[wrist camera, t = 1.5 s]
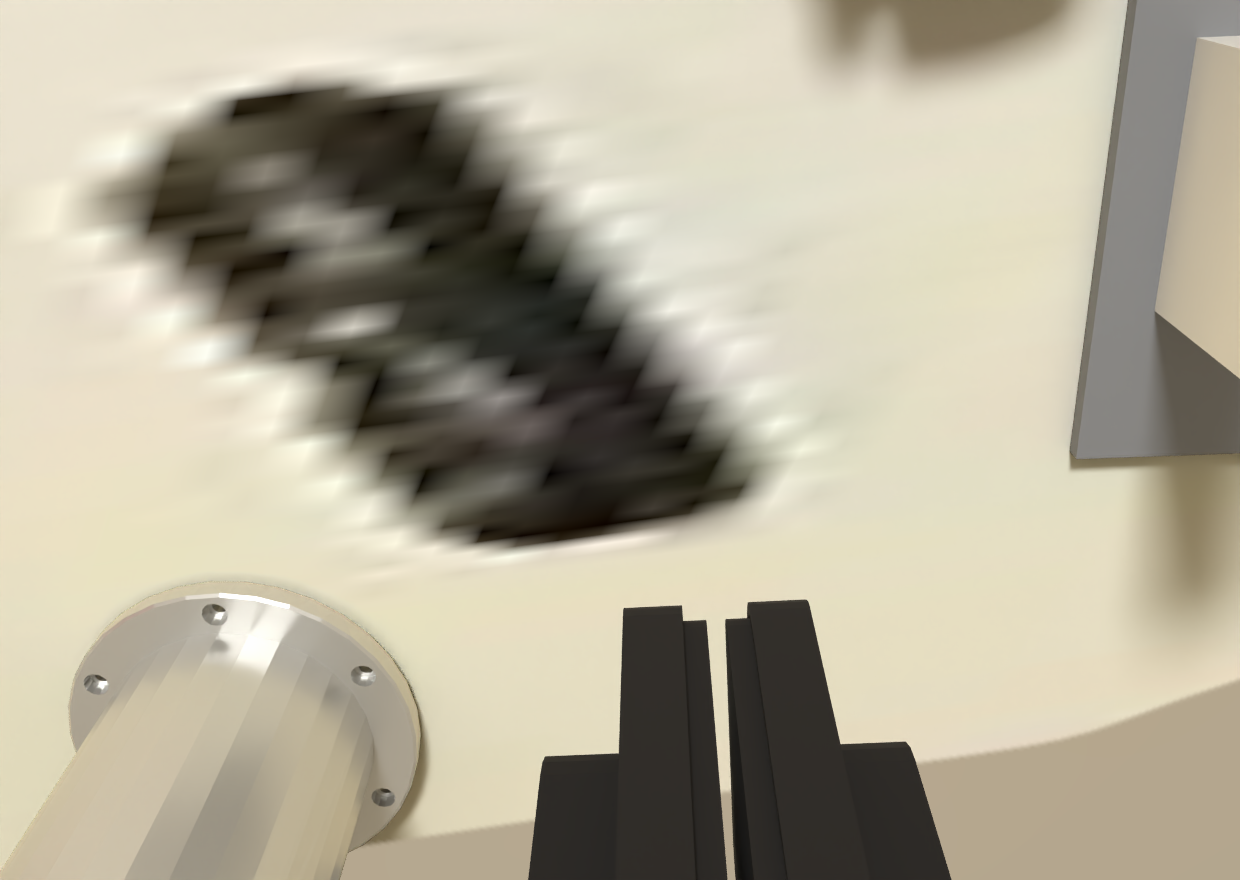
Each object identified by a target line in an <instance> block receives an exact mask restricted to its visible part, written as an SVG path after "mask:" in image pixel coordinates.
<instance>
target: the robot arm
mask: <svg viewBox="0 0 1240 880" xmlns="http://www.w3.org/2000/svg"><path fill="white" fill-rule="evenodd" d="M725 628H726V657H727V685H728V712H729V740H730V768H731V795H732V823H733V847H734V863H735V877H736V880H951V877H950V874H949V870H948V867H947V864H946V860H945V857H944V854H943V850H942V847H941V844H940V840H939V837H938V834H937V831H936V827H935V824H934V821H933V817H932V814H931V811H930V808H929V804H928V801H927V798H926V795H925V791H924V788H923V784H922V781H921V778H920V775H919V771H918V768H917V765H916V761H915V758H914V756H913V753H912V751H911V748H910V746H909V745H908V744H907V743H906V742H886V743H862V744H840V740H839V736H838V731H837V727H836V722H835V718H834V713H833V709H832V704H831V700H830V695H829V691H828V686H827V682H826V677H825V673H824V668H823V664H822V659H821V655H820V651H819V646H818V642H817V637H816V633H815V628H814V624H813V619H812V615H811V610H810V606H809V603H808V601H807V600H787V601H766V602H748V605H747V618H742V619H726V621H725ZM68 709H69V725H70V734H71V738H72V741H73V744H74V748H75V751H76V754H75V756H74V757H73V759H72V761H71V762H70V764H69V765H68V767H67V768H66V770H65V771H64V773H63V775H62V776H61V778H60V779H59V781H58V782H57V784H56V785H55V787H54V789H53V790H52V792H51V793H50V795H49V796H48V798H47V799H46V801H45V803H44V804H43V806H42V807H41V809H40V810H39V812H38V813H37V815H36V817H35V818H34V820H33V821H32V823H31V824H30V826H29V827H28V829H27V831H26V832H25V834H24V835H23V837H22V838H21V840H20V841H19V843H18V845H17V846H16V848H15V849H14V851H13V852H12V854H11V855H10V857H9V859H8V860H7V862H6V863H5V865H4V866H3V868H2V869H1V871H0V880H340V877H341V873H342V870H343V867H344V863H345V860H346V856H347V853H349V852H351V851H353V850H354V849H356V848H358V847H360V846H362V845H364V844H365V843H366V842H368V841H369V840H370V839H371V838H373V837H374V836H375V835H377V834H378V833H379V832H380V831H382V830H383V829H384V828H385V827H386V826H387V824H388V823H389V822H390V821H391V820H392V818H393V817H394V816H395V815H396V814H397V812H398V811H399V810H400V808H401V806H402V804H403V802H404V800H405V798H406V796H407V794H408V792H409V790H410V788H411V786H412V782H413V779H414V775H415V771H416V767H417V763H418V759H419V749H420V738H421V732H420V725H419V718H418V711H417V707H416V704H415V701H414V699H413V696H412V694H411V691H410V688H409V686H408V683H407V681H406V680H405V678H404V677H403V675H402V673H401V672H400V670H399V669H398V667H397V666H396V664H395V663H394V661H393V659H392V658H391V657H390V656H389V654H388V653H387V652H386V651H385V650H384V649H383V648H382V647H381V646H380V645H379V644H378V643H377V642H376V641H375V640H374V639H373V638H372V636H371V635H370V634H368V633H367V632H366V631H364V630H363V629H362V628H360V627H359V626H358V625H356V624H355V623H354V622H352V621H351V620H350V619H348V618H347V617H346V616H344V615H343V614H341V613H339V612H337V611H335V610H333V609H331V608H329V607H328V606H326V605H324V604H322V603H320V602H318V601H316V600H314V599H312V598H309V597H306V596H303V595H300V594H297V593H294V592H291V591H288V590H285V589H282V588H279V587H273V586H267V585H261V584H255V583H250V582H224V581H209V582H203V583H197V584H191V585H185V586H179V587H175V588H172V589H169V590H167V591H164V592H161V593H158V594H156V595H153V596H150V597H147V598H146V599H144V600H142V601H141V602H139V603H137V604H136V605H134V606H132V607H131V608H129V609H127V610H126V611H124V612H122V613H121V614H120V615H119V616H118V617H117V618H116V619H115V620H114V621H113V622H112V623H111V624H110V625H109V626H108V627H107V628H106V629H105V630H104V631H103V632H102V633H101V634H100V636H99V637H98V638H97V640H96V641H95V643H94V644H93V646H92V647H91V648H90V650H89V651H88V652H87V654H86V655H85V656H84V658H83V660H82V662H81V664H80V666H79V668H78V670H77V672H76V674H75V677H74V679H73V684H72V689H71V695H70V700H69V705H68ZM528 880H727V869H726V857H725V844H724V832H723V820H722V808H721V795H720V783H719V770H718V758H717V746H716V733H715V721H714V709H713V697H712V684H711V672H710V660H709V647H708V635H707V623H706V620H699V621H683V615H682V605H681V606H660V607H638V608H624V610H623V635H622V669H621V702H620V736H619V754H595V755H571V756H546V757H545V758H544V760H543V763H542V768H541V774H540V783H539V791H538V800H537V809H536V817H535V826H534V835H533V843H532V852H531V861H530V869H529V878H528Z"/></svg>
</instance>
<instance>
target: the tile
mask: <svg viewBox="0 0 1240 880" xmlns="http://www.w3.org/2000/svg"><path fill="white" fill-rule="evenodd" d="M1155 312H1157V313H1158V314H1159V315H1161V316H1162V317H1163V318H1164V319H1166V320H1167V321H1168V322H1169V323H1171V324H1172V325H1173V326H1174V327H1176V328H1177V329H1178V330H1179V331H1181V332H1182V333H1183V334H1184V335H1186V336H1187V337H1188V338H1189V339H1191V340H1192V341H1193V342H1194V343H1196V344H1197V345H1198V346H1199V347H1201V348H1202V349H1203V350H1204V351H1206V352H1207V353H1208V354H1209V355H1211V356H1212V357H1213V358H1214V359H1216V360H1217V361H1218V362H1219V363H1221V364H1222V365H1223V366H1224V367H1226V368H1227V369H1228V370H1229V371H1231V372H1232V373H1233V374H1234V375H1236V376H1237V377H1238V378H1239V379H1240V36H1222V37H1199V38H1197V41H1196V47H1195V54H1194V60H1193V67H1192V73H1191V79H1190V86H1189V92H1188V99H1187V105H1186V112H1185V118H1184V124H1183V131H1182V137H1181V144H1180V150H1179V157H1178V163H1177V170H1176V176H1175V182H1174V189H1173V195H1172V202H1171V208H1170V215H1169V221H1168V228H1167V234H1166V240H1165V247H1164V253H1163V260H1162V266H1161V273H1160V279H1159V286H1158V292H1157V298H1156V305H1155Z"/></svg>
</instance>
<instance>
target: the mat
mask: <svg viewBox="0 0 1240 880" xmlns="http://www.w3.org/2000/svg"><path fill="white" fill-rule="evenodd" d="M1222 36H1240V0H1129V1H1128V8H1127V16H1126V24H1125V31H1124V39H1123V47H1122V54H1121V62H1120V70H1119V77H1118V85H1117V93H1116V100H1115V108H1114V116H1113V123H1112V131H1111V139H1110V146H1109V154H1108V162H1107V170H1106V177H1105V185H1104V193H1103V200H1102V208H1101V216H1100V223H1099V231H1098V239H1097V246H1096V254H1095V262H1094V269H1093V277H1092V285H1091V292H1090V300H1089V308H1088V315H1087V323H1086V331H1085V338H1084V346H1083V354H1082V361H1081V369H1080V377H1079V385H1078V392H1077V400H1076V408H1075V415H1074V423H1073V431H1072V438H1071V446H1070V452H1071V453H1072V455H1073V456H1074V457H1075V458H1076V459H1092V458H1120V457H1149V456H1177V455H1205V454H1233V453H1240V379H1239V378H1238V377H1237V376H1236V375H1234V374H1233V373H1232V372H1231V371H1229V370H1228V369H1227V368H1226V367H1224V366H1223V365H1222V364H1221V363H1219V362H1218V361H1217V360H1216V359H1214V358H1213V357H1212V356H1211V355H1209V354H1208V353H1207V352H1206V351H1204V350H1203V349H1202V348H1201V347H1199V346H1198V345H1197V344H1196V343H1194V342H1193V341H1192V340H1191V339H1189V338H1188V337H1187V336H1186V335H1184V334H1183V333H1182V332H1181V331H1179V330H1178V329H1177V328H1176V327H1174V326H1173V325H1172V324H1171V323H1169V322H1168V321H1167V320H1166V319H1164V318H1163V317H1162V316H1161V315H1159V314H1158V313H1157V312H1155V305H1156V298H1157V292H1158V286H1159V279H1160V273H1161V266H1162V260H1163V253H1164V247H1165V240H1166V234H1167V228H1168V221H1169V215H1170V208H1171V202H1172V195H1173V189H1174V182H1175V176H1176V170H1177V163H1178V157H1179V150H1180V144H1181V137H1182V131H1183V124H1184V118H1185V112H1186V105H1187V99H1188V92H1189V86H1190V79H1191V73H1192V67H1193V60H1194V54H1195V47H1196V41H1197V38H1199V37H1222Z"/></svg>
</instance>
